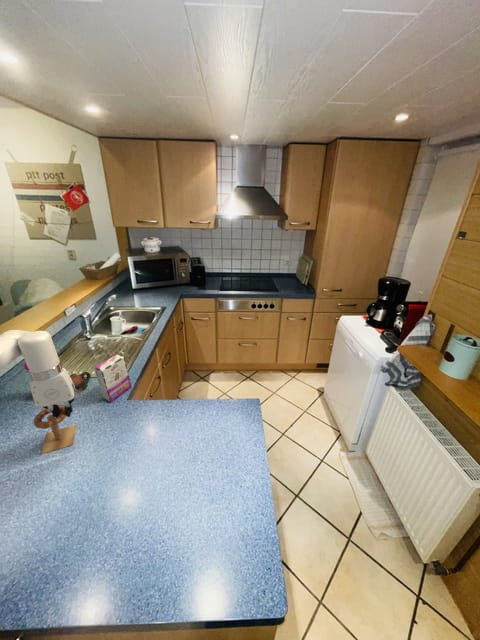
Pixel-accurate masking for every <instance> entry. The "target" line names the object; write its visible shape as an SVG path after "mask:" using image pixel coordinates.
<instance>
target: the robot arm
mask: <svg viewBox="0 0 480 640" xmlns="http://www.w3.org/2000/svg"><path fill="white" fill-rule="evenodd" d="M21 356H22V357H23V359H24V363H25V362H26V364H27V366H28V369H29V370H24V371H23V374H24V376H30V378H29V387H30V388H29V389H30V391H31V395H32V399H33V402H34V403H33V407H34V408H42V409H48V410H49V411H51V415H52V414H53V417H55V418H57V417H58V416H59V415H60V413H61V412H60V409H59V407H58V405H59V404H62V403H63V404H64V406H65V408H64V409H65V412H66V415H67V417H66V418H70V417H71V414H72V413H73V411H74V409H73V406H72V404H73V402H74V401H75V400H77V399H78V398H80V397H81V394H82V392H79V391H78V389H77V388H76V386H74V383H73V381H72V379H71V377H70V375H71V374H69V372H68V371H67V370H66V368H65V367H62V364H61V360H60V358H59V354H58V353H57V349H56V347H55V343H54V340H53V338H52V335H51V334H50V332H48V331H46V330H35V331H29V330H22V329H8V330H6V331H4V332H2V333H1V334H0V371H2V370H4V369H6V367H7V366H9V365H10V364H12V363H13V362H14V361H15V360H17V359H18V358H19V357H21Z"/></svg>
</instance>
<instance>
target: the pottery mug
mask: <svg viewBox="0 0 480 640" xmlns="http://www.w3.org/2000/svg"><path fill="white" fill-rule="evenodd" d="M69 375H70V377H71V379H72V381H73V383H74V386H75V387H76V386H77V387H79V388H78V389H77V390H78V391H79V392H80V393H82V392H84V391H85V390H86V389H87V388H88V385H89V384H88V382H89V381H90V379H91V376H92V375H91V372H89V371H83V372H81V373H80V374H77V373H76V372H74V373H72V374H69ZM85 375H86V378H85Z"/></svg>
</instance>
